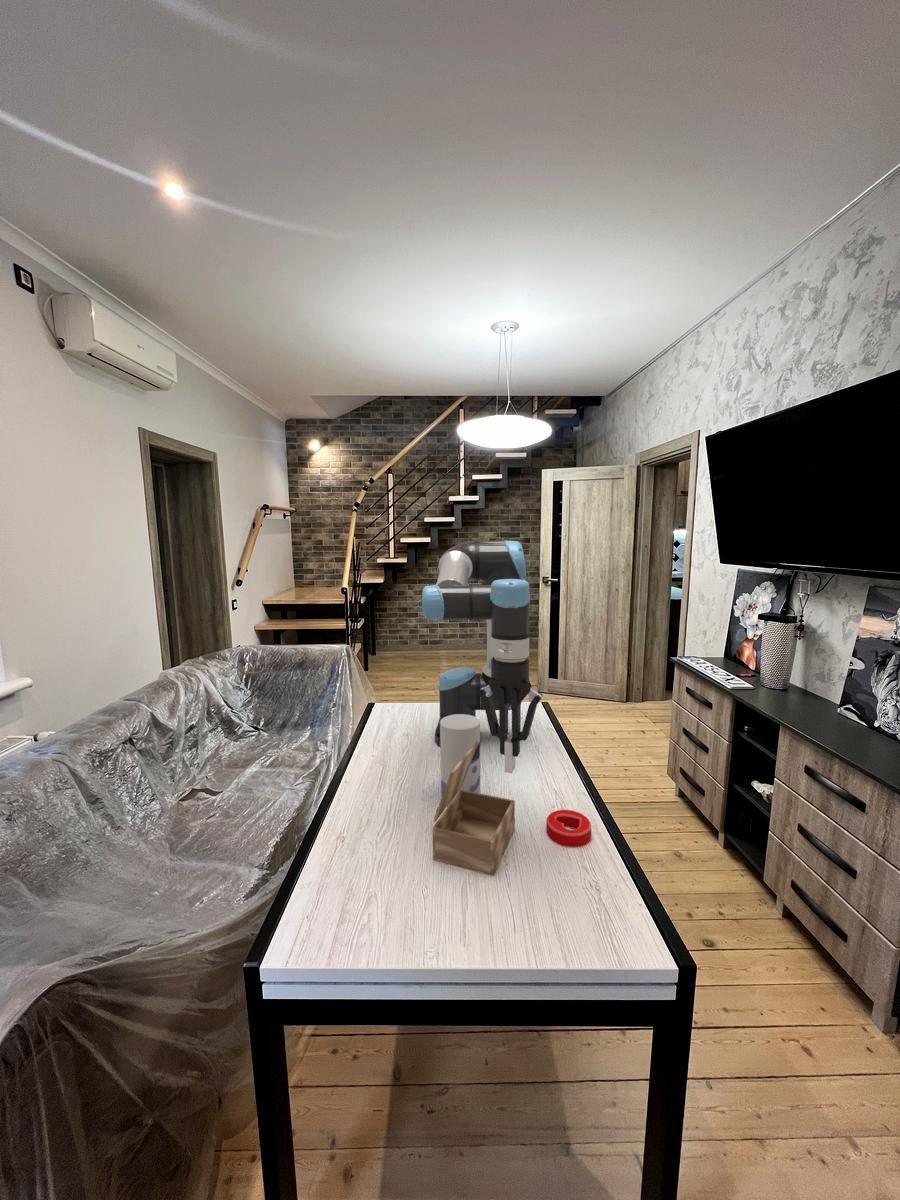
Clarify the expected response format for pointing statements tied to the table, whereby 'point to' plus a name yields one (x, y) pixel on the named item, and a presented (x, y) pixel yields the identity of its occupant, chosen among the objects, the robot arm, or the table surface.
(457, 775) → the lid
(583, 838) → the decorative ornament
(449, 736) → the container
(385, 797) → the table surface
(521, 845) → the table surface
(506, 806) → the wooden box
